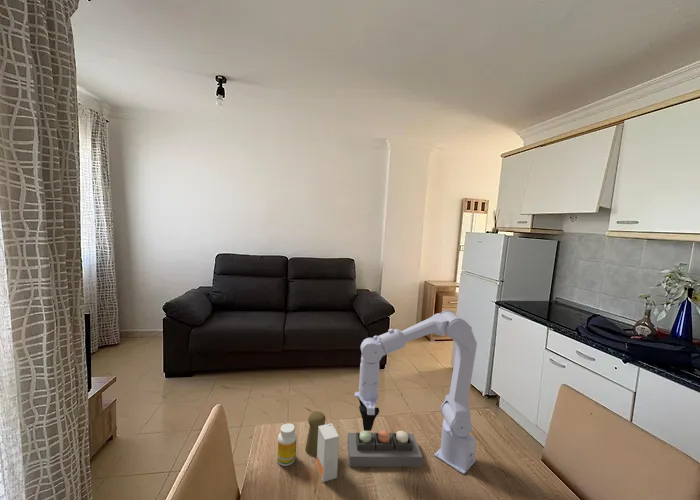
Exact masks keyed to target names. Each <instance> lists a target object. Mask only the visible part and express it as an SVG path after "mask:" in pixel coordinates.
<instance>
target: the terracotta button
mask: <svg viewBox="0 0 700 500" xmlns="http://www.w3.org/2000/svg"><path fill="white" fill-rule="evenodd" d="M377 433H378V441H379V442H380V443H383V444H387V443H389V442H390V434H389V433H390V432H388V431H386V430H380V431H378V432H377Z"/></svg>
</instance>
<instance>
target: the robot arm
mask: <svg viewBox="0 0 700 500" xmlns="http://www.w3.org/2000/svg"><path fill="white" fill-rule="evenodd" d="M431 334H434V335H437V336H440V337H446V334H447V336H448V337H449V338H450V339H451V340H453V341H454V342H455V343H456V349H455V356H454V363H453V369H452V376H451V380H450V381H451V382H450V386H449V393H448V394H445V399H444V401H443V402H442V404H441V406H440V413H441V415H442V416H443V421H442V423H441V424H442V426H441V437H440V439H441V440H440V448H439V449H438V450H437V451H436V452H434V456H435V457H436V458H438V459H440V460H441V461H442V462H444V463H445V464H447V465H449V466H450V467H452V468H453V469H454V470H456V471H457V472H460V474H462V475H463V474H466V473H467V472H468V471H469V469H471V467H472V466H473V465H474V464H475V462H476V460H477V459H476V452H477V451H476V449H477V440H476V438H475V437H473V435H471V434H470V433H471V432H472V429H473V423H472V421H471V416H472V415H471V409H470V406H469V396H470V389H471V384H472V379H473V378H472V376H473V371H474V365H475V359H476V351H477V346H478V343H477V340H476V337H475V334H474V332H473V328H472V326H471V325H470V324H469V323H468V322H467V321H466V320H464V319H463V318H461V317H459V316H458V315H457V314H456V313H455V312H453V311H452V310H443V311H441V312H439V313H438V312H437V313H434V314H433V315H431V316H430V317H428V318H426V319H425V320H422V321H420V322H418V323H416V324H414V325H412V326H409V327H408V328H407V327H406V328H405V329H403V330H400V329H398V328H394V329H393V328H389V329H388V330H387V332H385V333H382V334H380V335H374V336H373V337H367V338H365V339H363V340H362V342H361V344H360V346H359V347H360V351H361V357H360V365H359V379H358V380H359V381H358V383H359V384H358V391H355V392H354V397H355V398H358V401H359V407H358V409H359V412H360V415H361V418H362V426H363V427H362V428H363V430H364V431H369V432H371V431H372V429H373V426H374V423H375V420H376V418H377V416H378V415H379V414H380V408H379V407H376V405H377V402H378V399H379V381H380V367H381V366H380V362H381V359H382V358H383V357H385V356H387V355H389V354H391V353H394V352H396V351H399V350H401V349H404V348H405V346H406V344H407V343H408V342H410V341H412V340H416V339H419V338H421V337H424V336H428V335H431Z"/></svg>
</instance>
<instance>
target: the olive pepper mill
mask: <svg viewBox="0 0 700 500" xmlns="http://www.w3.org/2000/svg"><path fill="white" fill-rule="evenodd" d="M307 419H308V421H307V422H308V426H309V427H308V433H307V438H306V443H305V444H306V445H305V449H304V450H305V453H306V454H307V455H309V456H311V457H317V444H318V426H321V425H326V416H325V414H324V413H323V412H322V411H319V410H317V411H313V412H311V413H310V414H309V416H308V417H307Z"/></svg>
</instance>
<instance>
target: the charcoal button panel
mask: <svg viewBox="0 0 700 500" xmlns="http://www.w3.org/2000/svg"><path fill="white" fill-rule="evenodd" d="M396 433H397V432H392V433H391V432H389V434H390V442H389V443H387V444H383V443H380V442H379V441H378V432H371V434H372V437H371V442H370V443H362V442H361V441H360V440H359V436H360V432H347V439H346V440H347V441H346V443H347V453H348V467H350V468H352V467H354V468H357V467H358V468H359V467H360V468H361V467H362V468H363V467H364V468H365V467H366V468H367V467H368V468H369V467H370V468H371V467H373V468H374V467H375V468H376V467H377V468H378V467H379V468H380V467H381V468H383V467H385V468H395V467H397V468H401V467H402V468H403V467H404V468H421V467H422V468H423V455H422V452H421V449H420V448H419V447H420V446H419V445H418V443H417V440H416V437H415V436H414V435H415V434H414V433H409V432H406V433H407V434H408V442H407V443H406V444H401V443H399V442H397V440H396Z"/></svg>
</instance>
